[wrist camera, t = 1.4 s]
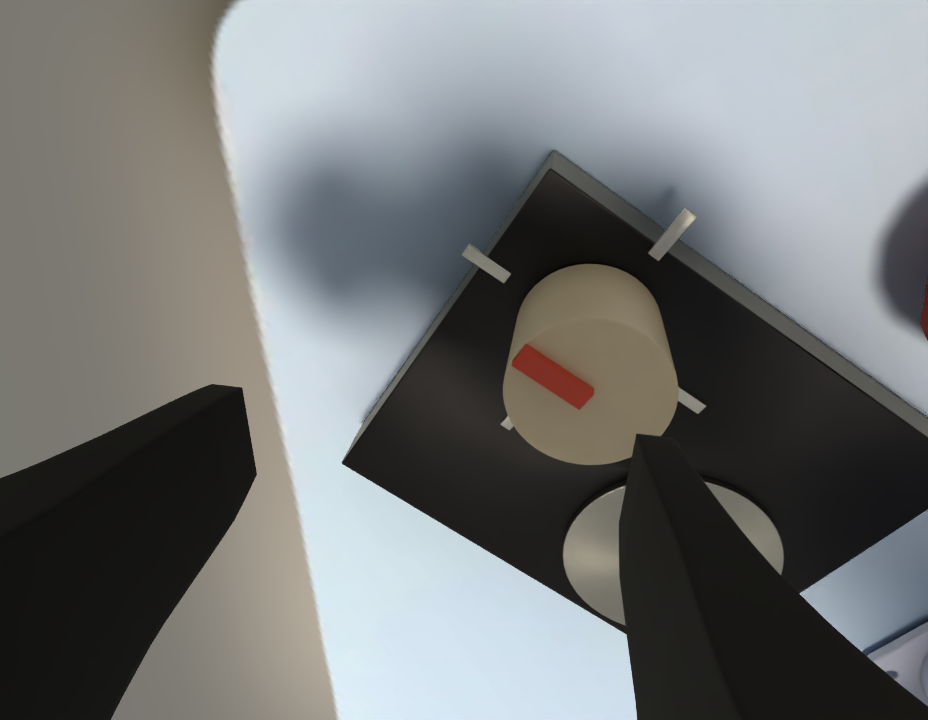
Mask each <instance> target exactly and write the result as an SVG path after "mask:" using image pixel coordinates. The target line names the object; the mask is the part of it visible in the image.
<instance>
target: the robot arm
mask: <svg viewBox="0 0 928 720" xmlns="http://www.w3.org/2000/svg"><path fill="white" fill-rule="evenodd" d="M256 475H257V473H256V467H255V461H254V455H253V449H252V443H251V437H250V432H249V426H248V419H247V414H246V408H245V402H244V396H243V390H242V388H240V387H232V386H224V385H215V384H211V385H208V386H206V387H203V388H200V389H198V390H196V391H193V392H191V393H189V394H187V395H184V396H182V397H180V398H178V399H176V400H174V401H172V402H169V403H167V404H166V405H163V406H161V407H159V408H157V409H155V410H153V411H151V412H149V413H147V414H145V415H143V416H141V417H138V418H136V419H134V420H132V421H130V422H128V423H126V424H124V425H122V426H120V427H118V428H116V429H114V430H112V431H109V432H107V433H105V434H103V435H101V436H99V437H97V438H94V439H92V440H90V441H88V442H85V443H83V444H81V445H79V446H76V447H74V448H72V449H70V450H67V451H65V452H63V453H61V454H59V455H56V456H54V457H52V458H50V459H47V460H45V461H43V462H40V463H38V464H35V465H33V466H31V467H28V468H26V469H23V470H21V471H18V472H16V473H13V474H10V475H8V476H5V477H2V478H0V720H111V718H112V716H113V714H114V712H115V710H116V708H117V706H118V704H119V702H120V700H121V698H122V696H123V695H124V692H125V691H126V689H127V687H128V685H129V683H130V682H131V680H132V678H133V676H134V675H135V673H136V671H137V669H138V667H139V665H140V664H141V662H142V660H143V658H144V656H145V654H146V653H147V651H148V649H149V647H150V645H151V644H152V642H153V641H154V639H155V637H156V636H157V634H158V633H159V631H160V629H161V628H162V626H163V624H164V623H165V621H166V620H167V619H168V617H169V616H170V614H171V613H172V611H173V610H174V608H175V607H176V605H177V604H178V603H179V601H180V600H181V598H182V597H183V595H184V594H185V592H186V591H187V589H188V588H189V586H190V585H191V584H192V582H193V581H194V579H195V578H196V576H197V575H198V573H199V572H200V570H201V569H202V568H203V566H204V565H205V563H206V562H207V560H208V559H209V557H210V556H211V554H212V553H213V551H214V550H215V548H216V547H217V545H218V544H219V542H220V541H221V540H222V538H223V537H224V535H225V533H226V532H227V530H228V529H229V527H230V526H231V524H232V522H233V521H234V520H235V518H236V515H237V514H238V512H239V510H240V508H241V506H242V504H243V502H244V500H245V498H246V496H247V494H248V492H249V490H250V488H251V485H252V483H253V481H254V479H255V477H256ZM619 578H620V586H621V594H622V602H623V610H624V618H625V625H626V633H627V640H628V648H629V655H630V663H631V670H632V678H633V685H634V693H635V700H636V710H637V720H928V622H926V623H924V624H922V625H921V626H919V627H917V628H915V629H913V630H912V631H910V632H908V633H906V634H905V635H903V636H901V637H899V638H897V639H896V640H894V641H892V642H890V643H888V644H887V645H885V646H883V647H881V648H879V649H878V650H876V651H874V652H872V653H870V654H869V655H867V656H866V655H865V654H863V653H862V652H861V651H860V650H859V649H858V648H856V647H855V646H854V645H853V644H852V643H851V642H849V641H848V640H847V639H846V638H845V637H844V636H843V635H842V634H841V633H839V632H838V631H837V630H836V629H835V628H834V627H833V626H832V625H831V624H830V623H829V622H827V621H826V620H825V619H824V618H823V617H822V616H821V615H820V614H819V613H818V612H817V611H816V610H815V609H814V608H813V607H812V606H811V605H810V604H809V603H808V602H807V601H806V600H805V599H804V598H803V597H802V596H801V595H800V594H799V593H798V592H797V591H796V590H795V589H794V588H793V587H792V586H791V585H790V584H789V583H788V582H787V581H786V580H785V579H784V578H783V577H782V576H781V575H780V574H779V573H778V572H777V571H776V570H775V569H774V567H773V566H772V565H771V564H770V563H769V562H768V561H767V560H766V558H765V557H764V556H763V555H762V554H761V553H760V552H759V551H758V549H757V548H756V547H755V546H754V545H753V544H752V542H751V541H750V540H749V539H748V538H747V536H746V535H745V534H744V533H743V532H742V530H741V529H740V528H739V526H738V525H737V524H736V523H735V521H734V520H733V519H732V518H731V516H730V515H729V514H728V512H727V511H726V510H725V509H724V507H723V506H722V505H721V504H720V502H719V501H718V500H717V498H716V497H715V496H714V494H713V493H712V491H711V490H710V489H709V487H708V486H707V485H706V483H705V482H704V480H703V479H702V478H701V476H700V475H699V473H698V472H697V471H696V469H695V468H694V466H693V465H692V463H691V462H690V461H689V459H688V458H687V456H686V455H685V453H684V452H683V450H682V449H681V448H680V446H679V445H678V443H677V442H676V441H675V440H674V438H671V437H663V436H654V435H645V434H637V433H636V438H635V443H634V448H633V453H632V458H631V463H630V468H629V473H628V478H627V484H626V489H625V494H624V499H623V504H622V509H621V514H620V519H619Z"/></svg>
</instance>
